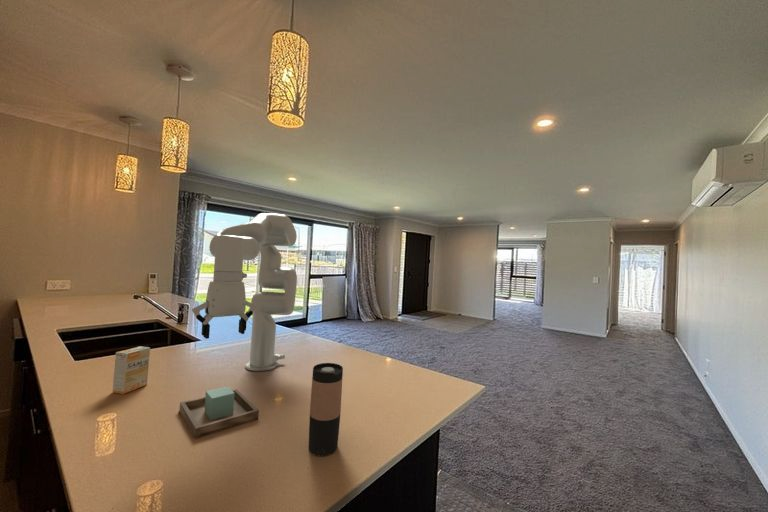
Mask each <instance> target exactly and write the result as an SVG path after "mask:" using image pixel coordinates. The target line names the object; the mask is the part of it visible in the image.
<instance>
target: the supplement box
mask: <svg viewBox="0 0 768 512" xmlns="http://www.w3.org/2000/svg"><path fill="white" fill-rule="evenodd" d="M150 355H151V347H149V346H136V347H132V348H128V349H124V350H120V351H116V352H115V358H114V370H113V371H114V373H113V380H112V381H113V383H112V393H116V394H121V395H124V394H127V393H129V392H132V391H134V390H137V389H140V388H141V387H145V386H147V385H148V379H149V377H148V375H149V368H150V367H149V365H150V364H149V363H150Z"/></svg>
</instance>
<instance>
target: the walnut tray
mask: <svg viewBox="0 0 768 512" xmlns="http://www.w3.org/2000/svg"><path fill="white" fill-rule="evenodd" d="M231 390H232V391H233V392H234V393H235V395H234V409H233V414H230V415H227V416H223V417H220V418H216V419H213V420H210V419H209V417H208V416H207V415H206V413H205V412H204V411H205V396H202V397H198V398H193V399H189V400H184V401H180V402H179V413H180V414H181V416H182V418H183V420H184V421H185V423H186V425H187V427H188V429H189V430H190V433H192V436H193V437H194V439H198V438H202V437H204V436H205V437H206V436H208V435H211V434H214V433H215V434H216V433H218V432H220V431H224V430H228V429H231V428H234V427H236V426H240V425H243V424H246V423H249V422H250V423H251V422H253V421H256V420H259V413H260V410H259V409H258V407H256V405H254V404H253V403H252V402H251V401H250V400H249V399H248V398H247V397H246V396H245V395H244V394H242V392H241V391H240V390H239V389H231Z"/></svg>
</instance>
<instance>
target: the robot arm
mask: <svg viewBox="0 0 768 512" xmlns="http://www.w3.org/2000/svg"><path fill="white" fill-rule="evenodd" d="M297 237H298V236H297V231H296V228H295V226H294V224H293V221H292V220H291V218H290V217H289V216H287V215H286V214H280V213H268V212H267V213H266V212H261V213H258V214H256V215H255V216H253V218H252V219H250V220H249V221H248V222H247V223H241V224H238V225H234V226H229V227H226V228H223V229H222V230H220V231H218V232H217V233H216V234H215V235H213V237H212V238H211V240H210V242H209V252H210V255H212V256H213V257H214V265H213V277H212V278H213V281H210V282H209V284H208V288H207V292H206V298H205V302H203V303H200V304H199V305H197V306H195V307H193V308H192V309H191V312H192V313H193V315H194V316H195V319H197V320H198V321H199V322H200V323H201V336H202V337H203V338H204V339H205V340H207V339H210V328H211V325H210V324H209V323H210V322H211V320H212V319H213V318H223V317H232V316H233V317H234V316H238V317H240V319H239V320H238V331H237V332H238V333H239V334H241V335H245V332H246V331H247V321H249V318H250V317H252V322H251V323H252V324H251V325H252V326H251V339H250V341H251V342H250V352H249V361H248V362H246V363H245V365H244V366H245V368H246V370H249V371H253V372H265V371H271V370H274V369H275V368H277V366H278V360H285V359H286V355H285V354H279V353H278V354H275V349H276V348H275V347H276V335H277V334H276V333H277V324H276V321H275V319H274V317H273V315H274V316H289V315H292V314H293V312H294V310H295V305H296V294H297V293H296V292H297V285H298V275H297V271H296V270H295V269H294V268H291V267H282V254H281V253H280V251H279V250H278V248H277V246H279V247H292V246H294V245H295V244H296V242H297ZM259 254H260V262H259V263H260V264H259V271H258V272H259V273H258V283H257V284H258V285H259V287H260V288H263V289H270V290H283V291H284V292H279V291H278V292H277V291H259V292H256V293H254V294H253V295H252V297H251V302H249V301H248V300H246V299H247V298H246V296H247V295H246V288H245V282H244V281H243V279H244V278H245V279H246V278H247V277H248V274H247V273H244V271H243V270H244V269H243V267H244V265H243V264H244V261H252V260H254V259H256V258H257V257H258V255H259ZM246 306H247V307H248V311H246ZM202 310H204V313H205V315H204V316H202V315H201V313H200V312H201V311H202Z"/></svg>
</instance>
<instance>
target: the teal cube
mask: <svg viewBox="0 0 768 512" xmlns="http://www.w3.org/2000/svg"><path fill="white" fill-rule="evenodd" d="M232 390H233V389H231V388H230V387H229V386H224V387H219V388H213V389H209V390H205V396H204V397H205V411H204V412H205V413H206V415H207V416H208V417H209V419H210V420H213V419H216V418H220V417H223V416H227V415H230V414H233V409H234V395H235V393H234V392H233V391H232Z"/></svg>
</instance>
